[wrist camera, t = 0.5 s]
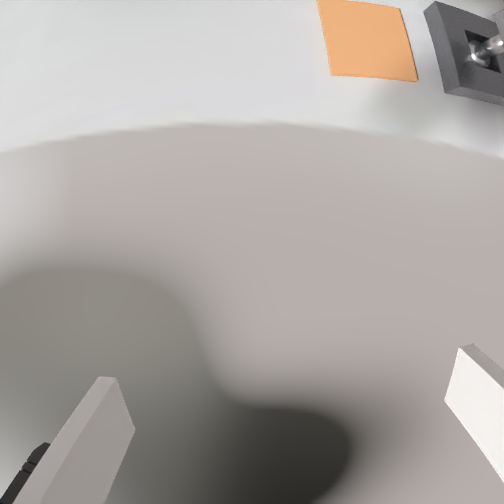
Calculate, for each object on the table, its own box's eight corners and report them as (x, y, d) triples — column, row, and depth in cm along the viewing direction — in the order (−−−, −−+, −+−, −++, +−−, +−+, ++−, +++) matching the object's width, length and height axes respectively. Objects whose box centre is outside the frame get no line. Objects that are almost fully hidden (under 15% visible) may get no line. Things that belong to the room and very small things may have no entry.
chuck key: (453, 36, 30) (502, 6, 17) (473, 42, 30) (522, 17, 17) (464, 76, 31) (519, 53, 19) (483, 81, 31) (538, 62, 19)
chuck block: (423, 11, 29) (435, 0, 25) (486, 32, 29) (499, 25, 25) (444, 93, 32) (460, 86, 28) (506, 106, 32) (521, 103, 28)
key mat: (316, 1, 30) (317, -2, 29) (396, 10, 30) (398, 8, 29) (331, 75, 32) (332, 73, 32) (415, 82, 32) (417, 80, 31)
